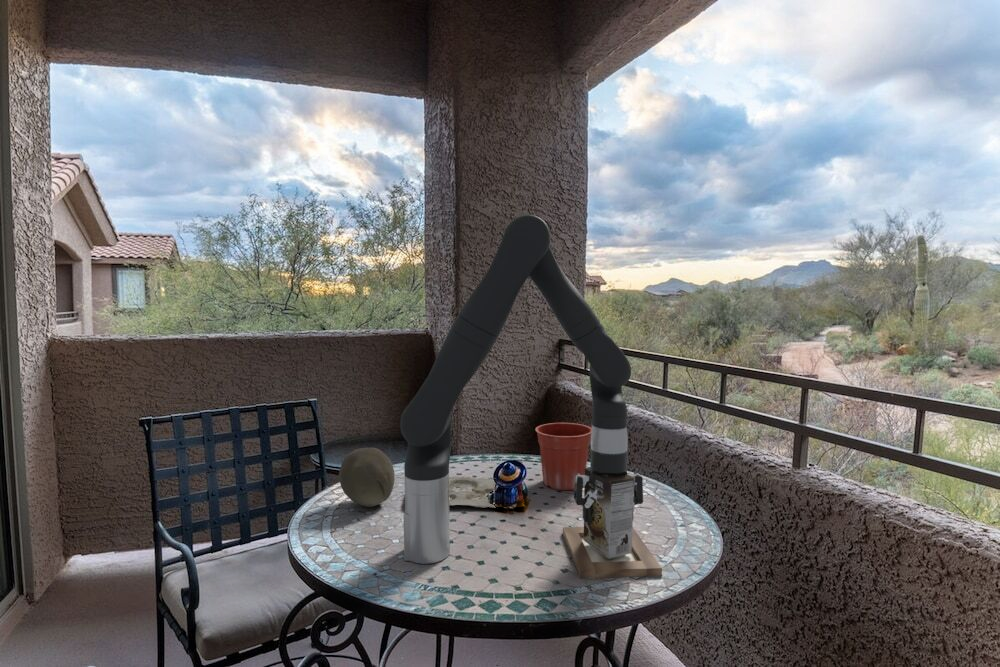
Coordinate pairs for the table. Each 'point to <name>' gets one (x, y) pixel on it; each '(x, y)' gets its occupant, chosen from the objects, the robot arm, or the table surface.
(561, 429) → the flower pot
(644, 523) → the table surface
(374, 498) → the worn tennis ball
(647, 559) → the walnut frame
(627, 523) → the coffee box
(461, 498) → the stone relief
